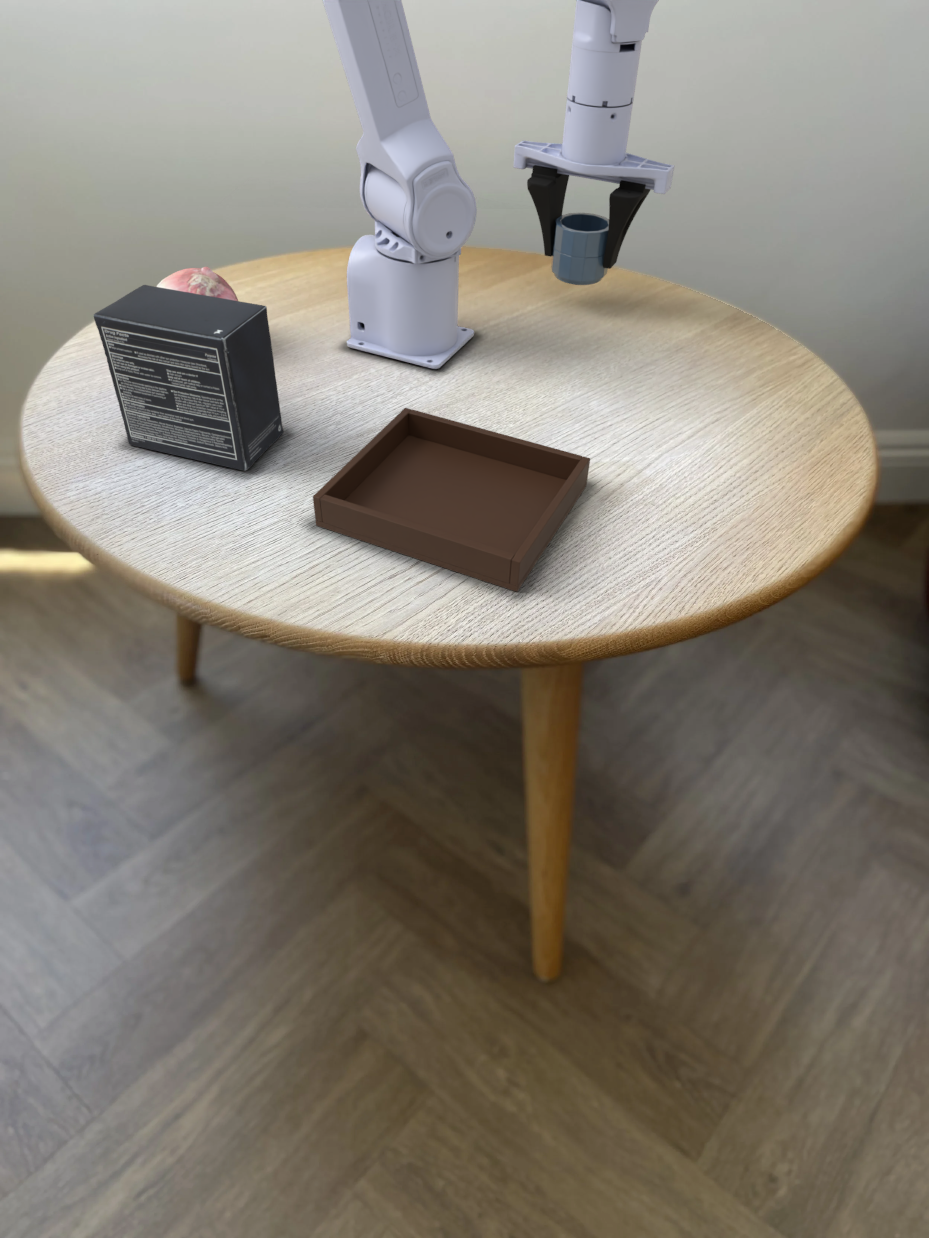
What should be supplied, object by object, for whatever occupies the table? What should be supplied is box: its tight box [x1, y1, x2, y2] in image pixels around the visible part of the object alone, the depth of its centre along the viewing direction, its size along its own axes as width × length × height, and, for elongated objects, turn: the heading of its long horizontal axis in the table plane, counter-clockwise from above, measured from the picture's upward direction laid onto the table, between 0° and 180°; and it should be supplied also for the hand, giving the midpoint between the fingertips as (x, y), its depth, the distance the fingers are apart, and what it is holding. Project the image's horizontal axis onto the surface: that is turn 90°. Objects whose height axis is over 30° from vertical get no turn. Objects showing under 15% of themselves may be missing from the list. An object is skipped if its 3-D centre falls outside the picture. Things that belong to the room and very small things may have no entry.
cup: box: [550, 212, 609, 286], centre depth 83 cm, size 5×6×5 cm
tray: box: [312, 407, 591, 593], centre depth 61 cm, size 15×13×2 cm
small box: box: [93, 284, 284, 472], centre depth 64 cm, size 11×6×10 cm, turn 71°
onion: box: [156, 266, 239, 301], centre depth 76 cm, size 8×8×7 cm
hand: (580, 258), depth 84 cm, fingers closed on cup, 5 cm apart
